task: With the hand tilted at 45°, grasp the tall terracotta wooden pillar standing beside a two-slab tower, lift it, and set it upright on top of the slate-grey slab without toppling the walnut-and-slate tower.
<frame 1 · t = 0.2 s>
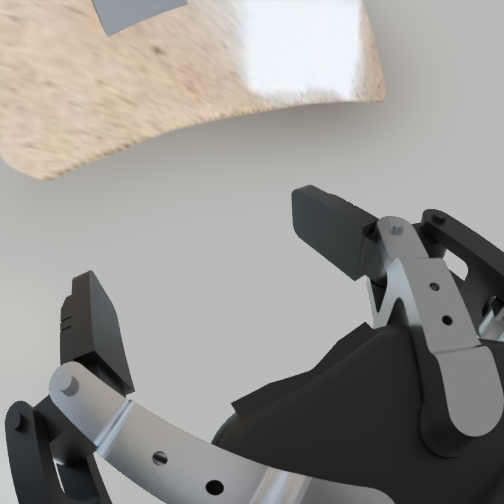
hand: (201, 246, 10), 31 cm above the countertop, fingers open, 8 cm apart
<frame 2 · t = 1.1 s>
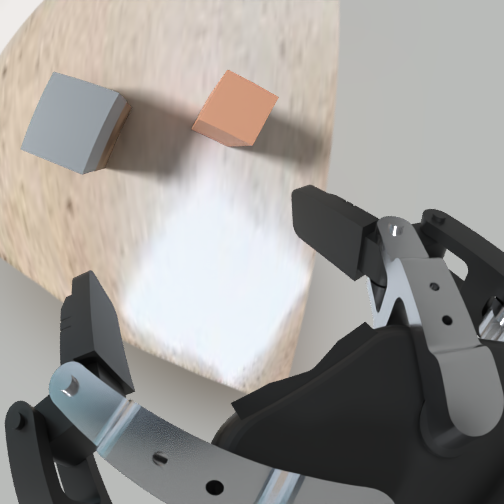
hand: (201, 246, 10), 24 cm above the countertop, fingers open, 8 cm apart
tower top slab: (79, 123, 22), point 4 cm above the countertop, touching tower bottom slab
tower bottom slab: (90, 127, 26), on the countertop, touching tower top slab
pillar: (219, 120, 30), on the countertop
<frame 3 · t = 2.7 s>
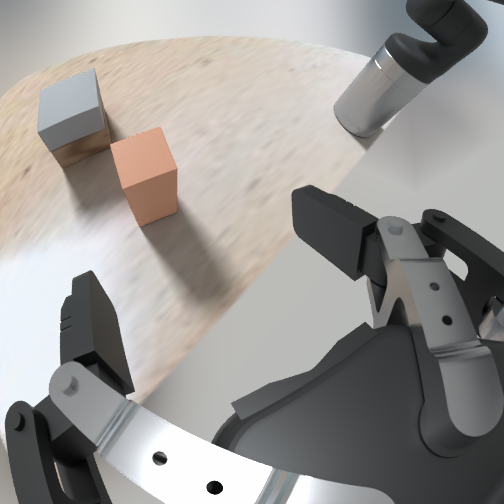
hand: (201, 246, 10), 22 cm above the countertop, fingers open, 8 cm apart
tower top slab: (75, 118, 27), point 4 cm above the countertop, touching tower bottom slab
tower bottom slab: (83, 136, 31), on the countertop, touching tower top slab
pillar: (151, 201, 32), on the countertop
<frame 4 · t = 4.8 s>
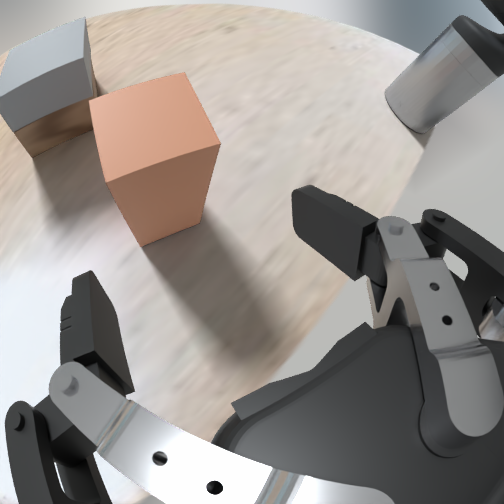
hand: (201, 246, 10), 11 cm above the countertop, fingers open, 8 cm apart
tower top slab: (52, 85, 16), point 4 cm above the countertop, touching tower bottom slab
tower bottom slab: (63, 113, 20), on the countertop, touching tower top slab
pillar: (159, 206, 21), on the countertop
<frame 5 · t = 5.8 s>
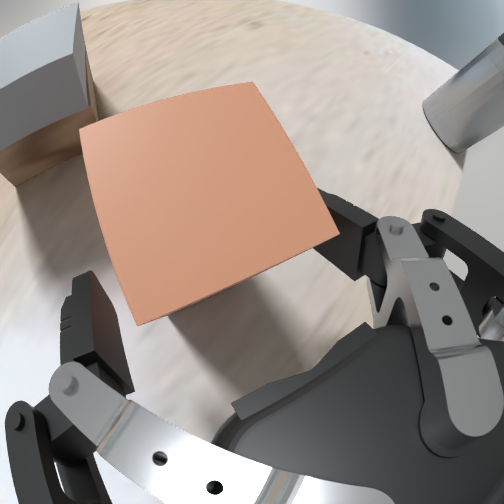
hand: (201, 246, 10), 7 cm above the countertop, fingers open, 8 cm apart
tower top slab: (35, 93, 11), point 4 cm above the countertop, touching tower bottom slab
tower bottom slab: (53, 127, 16), on the countertop, touching tower top slab
pillar: (187, 260, 16), on the countertop
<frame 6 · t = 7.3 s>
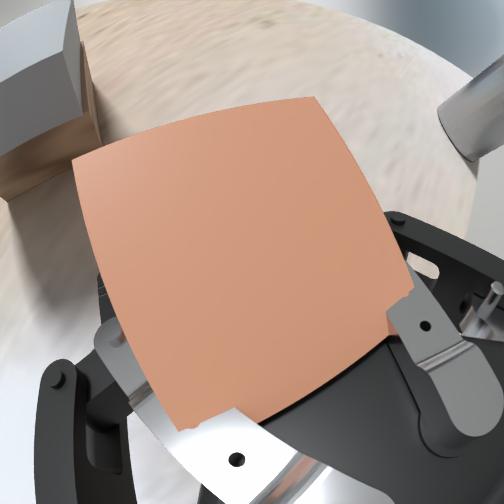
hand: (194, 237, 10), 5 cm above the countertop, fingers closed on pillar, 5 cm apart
tower top slab: (23, 98, 10), point 4 cm above the countertop
tower bottom slab: (48, 134, 14), on the countertop
pillar: (204, 291, 15), on the countertop, touching gripper
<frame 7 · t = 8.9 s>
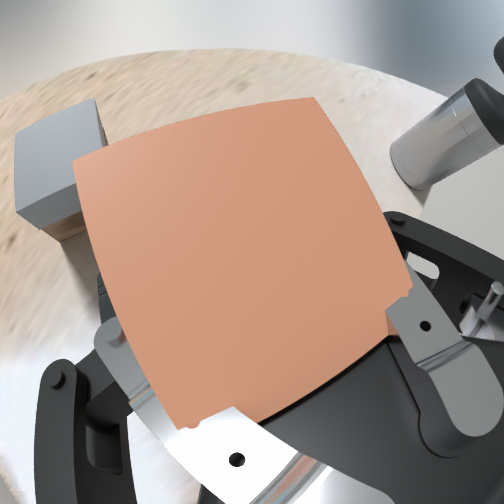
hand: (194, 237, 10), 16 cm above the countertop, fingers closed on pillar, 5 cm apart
tower top slab: (70, 174, 20), point 4 cm above the countertop
tower bottom slab: (84, 193, 24), on the countertop
pillar: (204, 291, 15), point 11 cm above the countertop, touching gripper
when the fingers open (15 cm above the countertop, at t = 12.2 s): pillar drops 2 cm, resting on tower top slab.
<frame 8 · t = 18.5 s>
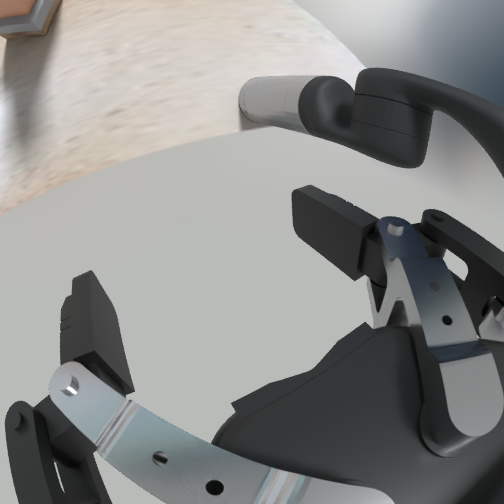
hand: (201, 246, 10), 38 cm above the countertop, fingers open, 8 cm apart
tower top slab: (28, 8, 14), point 4 cm above the countertop, touching pillar, tower bottom slab
tower bottom slab: (34, 15, 17), on the countertop, touching tower top slab
pillar: (21, 0, 11), point 9 cm above the countertop, touching tower top slab
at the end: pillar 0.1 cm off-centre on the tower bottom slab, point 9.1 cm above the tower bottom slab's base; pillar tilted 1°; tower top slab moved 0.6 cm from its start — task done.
